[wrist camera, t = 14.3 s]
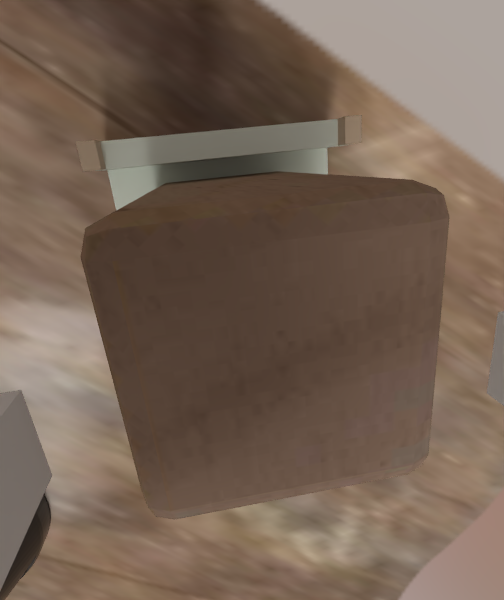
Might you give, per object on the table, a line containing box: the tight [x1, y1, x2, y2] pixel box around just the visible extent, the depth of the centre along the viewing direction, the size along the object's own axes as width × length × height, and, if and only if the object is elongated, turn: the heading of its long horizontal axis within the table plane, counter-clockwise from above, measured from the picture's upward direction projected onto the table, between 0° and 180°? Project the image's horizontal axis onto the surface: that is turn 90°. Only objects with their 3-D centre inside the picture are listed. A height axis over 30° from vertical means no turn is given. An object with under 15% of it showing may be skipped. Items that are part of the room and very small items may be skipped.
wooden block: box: [81, 171, 449, 519], centre depth 20 cm, size 10×10×20 cm
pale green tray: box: [76, 115, 362, 211], centre depth 27 cm, size 16×16×7 cm
